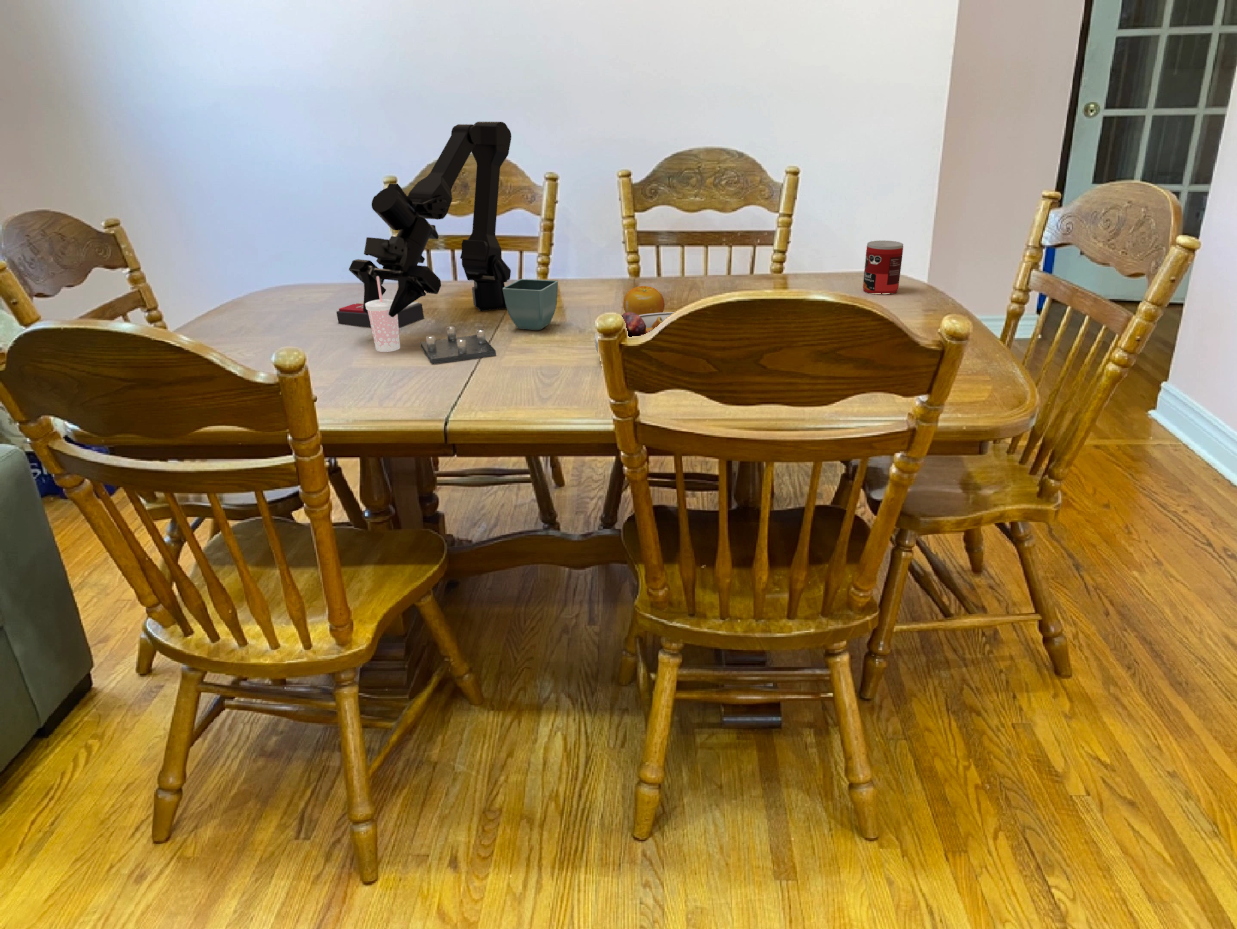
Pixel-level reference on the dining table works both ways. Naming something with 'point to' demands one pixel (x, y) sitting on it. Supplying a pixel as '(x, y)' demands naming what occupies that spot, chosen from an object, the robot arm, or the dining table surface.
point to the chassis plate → (457, 347)
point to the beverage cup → (383, 323)
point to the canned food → (882, 266)
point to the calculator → (360, 318)
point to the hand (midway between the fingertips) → (377, 314)
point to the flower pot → (531, 302)
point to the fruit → (644, 301)
